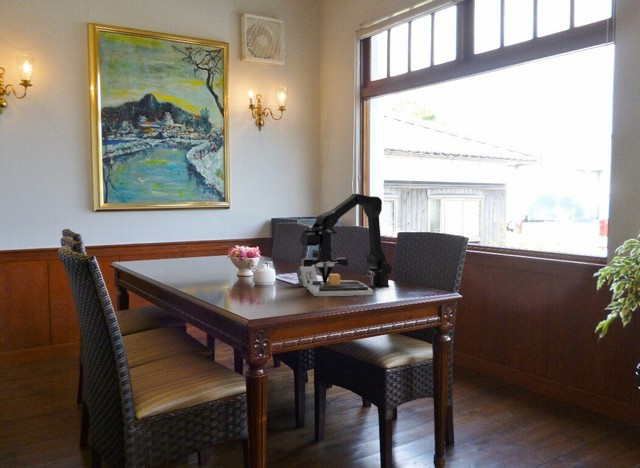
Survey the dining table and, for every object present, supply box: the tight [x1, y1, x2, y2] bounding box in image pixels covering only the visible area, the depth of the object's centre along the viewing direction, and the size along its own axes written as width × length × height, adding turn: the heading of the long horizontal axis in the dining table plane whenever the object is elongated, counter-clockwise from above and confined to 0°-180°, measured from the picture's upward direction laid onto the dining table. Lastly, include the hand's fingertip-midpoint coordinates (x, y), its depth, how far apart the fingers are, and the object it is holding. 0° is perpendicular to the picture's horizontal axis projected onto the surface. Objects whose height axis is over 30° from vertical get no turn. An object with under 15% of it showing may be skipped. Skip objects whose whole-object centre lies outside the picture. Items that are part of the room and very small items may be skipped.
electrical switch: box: [295, 264, 319, 288], centre depth 249 cm, size 9×5×9 cm, turn 141°
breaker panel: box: [307, 279, 374, 297], centre depth 234 cm, size 24×18×4 cm
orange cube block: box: [327, 273, 341, 285], centre depth 233 cm, size 4×5×5 cm
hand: (324, 282), depth 233 cm, fingers closed
